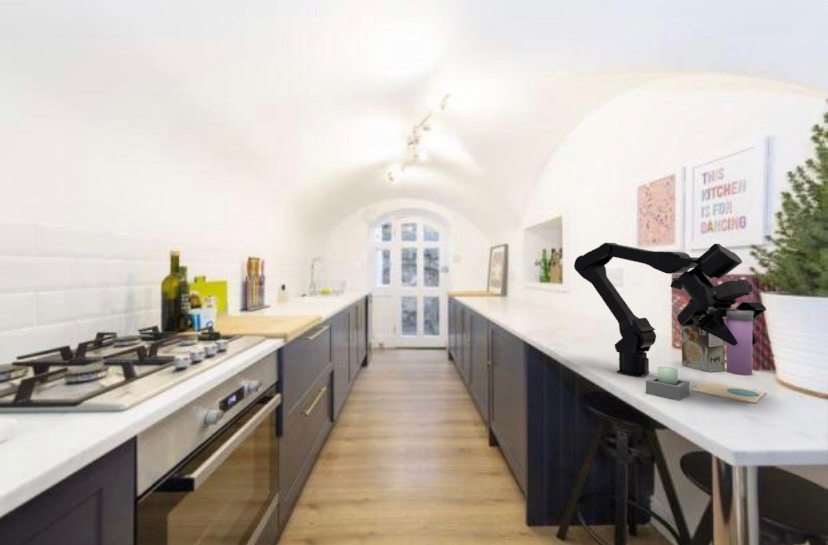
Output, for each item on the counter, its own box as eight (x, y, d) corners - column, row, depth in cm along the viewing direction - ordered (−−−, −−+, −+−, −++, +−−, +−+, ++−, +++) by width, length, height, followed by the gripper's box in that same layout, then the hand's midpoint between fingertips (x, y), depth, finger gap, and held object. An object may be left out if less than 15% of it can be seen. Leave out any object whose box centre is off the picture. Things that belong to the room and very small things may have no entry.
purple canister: (722, 372, 87) (723, 310, 87) (729, 368, 90) (729, 309, 89) (749, 376, 83) (749, 312, 83) (755, 373, 86) (755, 310, 86)
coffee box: (726, 370, 113) (726, 315, 113) (709, 372, 111) (708, 316, 111) (696, 363, 122) (696, 312, 122) (680, 365, 120) (680, 313, 120)
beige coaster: (691, 391, 95) (691, 389, 95) (705, 382, 102) (705, 381, 102) (755, 403, 86) (755, 402, 86) (766, 393, 92) (766, 392, 92)
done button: (655, 385, 93) (655, 368, 93) (661, 381, 96) (661, 365, 96) (674, 388, 90) (674, 371, 90) (680, 385, 93) (680, 368, 93)
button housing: (645, 393, 94) (645, 380, 94) (657, 387, 98) (657, 375, 98) (679, 400, 88) (679, 387, 88) (689, 394, 93) (689, 381, 93)
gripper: (687, 268, 89) (732, 323, 78) (758, 267, 91) (811, 320, 80) (660, 299, 97) (698, 353, 86) (726, 298, 99) (771, 350, 88)
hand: (745, 344), depth 85 cm, fingers closed on purple canister, 4 cm apart
